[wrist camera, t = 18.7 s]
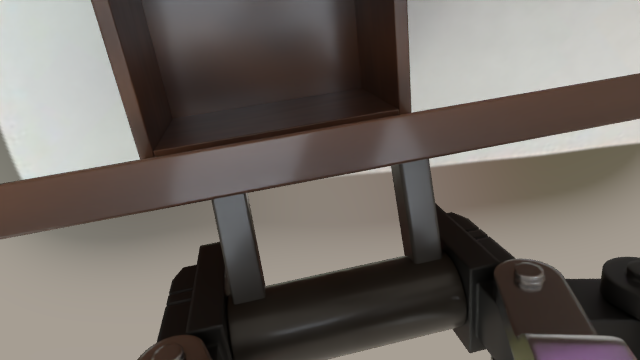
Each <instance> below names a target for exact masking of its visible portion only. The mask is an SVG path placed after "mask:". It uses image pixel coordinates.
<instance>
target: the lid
mask: <svg viewBox="0 0 640 360" xmlns="http://www.w3.org/2000/svg"><path fill="white" fill-rule="evenodd" d="M636 119H640V73H639V74H633V75H627V76H622V77H616V78H610V79H604V80H598V81H593V82H587V83H581V84H575V85H569V86H564V87H558V88H552V89H546V90H541V91H535V92H529V93H523V94H517V95H512V96H506V97H500V98H494V99H488V100H483V101H477V102H471V103H465V104H459V105H454V106H448V107H442V108H436V109H431V110H425V111H419V112H413V113H407V114H402V115H396V116H390V117H384V118H378V119H373V120H367V121H361V122H355V123H350V124H344V125H338V126H332V127H326V128H321V129H315V130H309V131H303V132H297V133H292V134H286V135H280V136H274V137H269V138H263V139H257V140H251V141H245V142H240V143H234V144H228V145H222V146H216V147H211V148H205V149H199V150H193V151H187V152H182V153H176V154H170V155H164V156H159V157H153V158H147V159H141V160H135V161H130V162H124V163H118V164H112V165H106V166H101V167H95V168H89V169H83V170H78V171H72V172H66V173H60V174H54V175H49V176H43V177H37V178H31V179H25V180H20V181H14V182H8V183H3V184H0V239H5V238H11V237H16V236H21V235H26V234H32V233H37V232H42V231H48V230H53V229H58V228H64V227H69V226H74V225H79V224H85V223H90V222H95V221H101V220H106V219H111V218H117V217H122V216H127V215H132V214H137V213H143V212H148V211H154V210H159V209H164V208H169V207H175V206H180V205H185V204H190V203H196V202H201V201H206V200H212V205H213V210H214V214H215V219H216V224H217V229H218V234H219V239H220V244H221V249H222V253H223V258H224V263H225V268H226V273H227V278H228V283H229V287H230V292H231V294H229V295H228V297H227V302H226V314H227V327H228V335H229V342H230V348H231V353H232V358H233V360H328V359H331V358H336V357H340V356H343V355H348V354H352V353H356V352H360V351H364V350H368V349H372V348H376V347H380V346H384V345H388V344H392V343H396V342H400V341H404V340H409V339H413V338H417V337H421V336H425V335H429V334H433V333H437V332H441V331H445V330H449V329H453V328H457V327H461V326H462V325H463V324H464V323H465V321H466V318H467V300H466V295H465V290H464V287H463V283H462V280H461V278H460V275H459V273H458V270H457V268H456V266H455V264H454V263H453V261H452V260H451V258H450V257H449V256H448V254H447V253H446V252H444V251H443V250H442V248H441V241H440V234H439V227H438V220H437V213H436V206H435V199H434V192H433V186H432V178H431V171H430V164H429V158H434V157H440V156H445V155H450V154H456V153H461V152H466V151H471V150H477V149H482V148H487V147H493V146H498V145H503V144H509V143H514V142H519V141H524V140H530V139H535V138H540V137H546V136H551V135H556V134H561V133H567V132H572V131H577V130H583V129H588V128H593V127H599V126H604V125H609V124H614V123H620V122H625V121H630V120H636ZM387 166H391V169H392V175H393V182H394V188H395V195H396V201H397V207H398V215H399V221H400V227H401V234H402V241H403V247H404V254H405V256H402V257H397V258H393V259H388V260H383V261H379V262H374V263H370V264H365V265H360V266H356V267H351V268H347V269H342V270H338V271H333V272H329V273H324V274H319V275H315V276H310V277H306V278H301V279H297V280H292V281H288V282H283V283H278V284H273V285H269V286H265V281H264V276H263V271H262V266H261V261H260V256H259V251H258V246H257V241H256V235H255V230H254V225H253V220H252V215H251V210H250V204H249V199H248V194H247V193H249V192H254V191H260V190H264V189H270V188H275V187H281V186H286V185H291V184H296V183H302V182H307V181H313V180H318V179H323V178H328V177H334V176H339V175H344V174H350V173H355V172H360V171H365V170H371V169H376V168H381V167H387Z"/></svg>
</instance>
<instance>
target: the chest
mask: <svg viewBox="0 0 640 360" xmlns="http://www.w3.org/2000/svg"><path fill="white" fill-rule="evenodd" d="M91 2H92V5H93V8H94V12H95V15H96V18H97V21H98V25H99V28H100V31H101V34H102V38H103V41H104V44H105V47H106V50H107V54H108V57H109V60H110V63H111V67H112V70H113V73H114V76H115V79H116V83H117V86H118V89H119V92H120V96H121V99H122V102H123V105H124V109H125V112H126V115H127V118H128V121H129V125H130V128H131V131H132V134H133V138H134V141H135V144H136V147H137V150H138V154H139V157H140V160H141V159H147V158H153V157H159V156H164V155H170V154H176V153H182V152H187V151H193V150H199V149H205V148H211V147H216V146H222V145H228V144H234V143H240V142H245V141H251V140H257V139H263V138H269V137H274V136H280V135H286V134H292V133H297V132H303V131H309V130H315V129H321V128H326V127H332V126H338V125H344V124H350V123H355V122H361V121H367V120H373V119H378V118H384V117H390V116H396V115H402V114H407V113H411V90H410V64H409V38H408V13H407V0H91Z"/></svg>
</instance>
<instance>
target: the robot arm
mask: <svg viewBox="0 0 640 360" xmlns="http://www.w3.org/2000/svg"><path fill="white" fill-rule="evenodd" d="M435 206H436V213H437V220H438V227H439V234H440V241H441V248H442V250H443V251H444V252H446V253H447V254H448V256H449V257H450V258H451V260H452V261H453V263H454V264H455V266H456V268H457V270H458V273H459V275H460V278H461V280H462V283H463V287H464V290H465V295H466V300H467V318H466V321H465V323H464V324H463V325H462V326H461V327H457V328H453V330H454V332H455V333H456V335H457V336H458V337H459V339H460V340H461V342H462V343H463V345H464V346H465V347H466V349H467V350H468V352H469V353H473V352H476V351H480V350H484V349H487V350H488V352H489V353H490V354H491V360H640V258H637V257H618V258H614V259H611V260H608V261H607V262H606V263H605V264H604V265H603V269H602V276H601V279H565V278H564V276H563V275H562V274H561V273H560V272H559V271H558V270H557V269H555V268H554V267H552V266H550V265H548V264H545V263H543V262H540V261H536V260H531V259H515V258H514V257H513V256H512V255H511V254H510V253H508V252H507V251H506V250H505V249H503V248H502V247H501V246H500V245H499V244H498V243H496V242H495V241H494V240H493V239H492V238H490V237H488V236H487V234H486V233H484V232H483V231H482V230H481V229H480V230H479V228H478V227H477V226H476V225H475V224H474V223H472V222H471V221H470V220H469V219H467V218H465V217H463V216H460V215H457V214H455V213H452V212H451V213H446V212H444V211H443V210H442V209H441V208H440V207H439V206H438V205H437V204H436V203H435ZM229 294H231V292H230V287H229V283H228V278H227V273H226V268H225V263H224V258H223V253H222V249H221V244H220V242H217V243H212V244H207V245H202V246H200V249H199V255H198V261H197V265H194V266H188V267H184V268H182V270H181V271H180V272H179V273H178V274H177V275H176V277H175V278H174V279H173V281H172V284H171V288H170V292H169V296H168V300H167V307H166V308H165V312H164V316H163V320H162V324H161V328H160V332H159V336H158V340H157V343H156V344H154V345H153V346H151V347H150V348H148V349H147V350H146V351H145V352H144V353H143V354H142V355H141V356H140V357H139V358H138V360H233V358H232V353H231V348H230V342H229V335H228V327H227V314H226V302H227V297H228V295H229Z"/></svg>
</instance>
